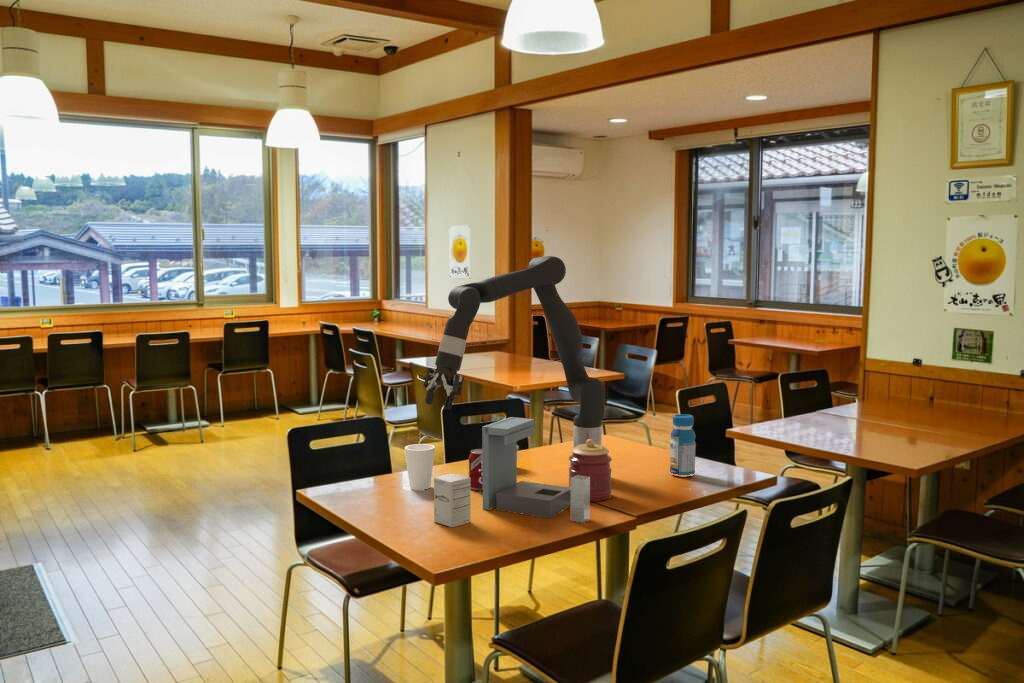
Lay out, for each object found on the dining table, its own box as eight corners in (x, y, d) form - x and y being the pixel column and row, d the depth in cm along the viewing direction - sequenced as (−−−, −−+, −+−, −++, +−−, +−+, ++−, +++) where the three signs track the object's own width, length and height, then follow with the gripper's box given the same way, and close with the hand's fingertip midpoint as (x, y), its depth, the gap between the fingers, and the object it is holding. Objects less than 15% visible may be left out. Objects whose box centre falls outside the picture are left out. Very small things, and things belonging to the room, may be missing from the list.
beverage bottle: (690, 479, 273) (691, 419, 271) (665, 476, 277) (666, 416, 275) (698, 474, 280) (699, 414, 278) (674, 470, 284) (675, 412, 282)
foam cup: (433, 491, 259) (433, 450, 258) (403, 491, 259) (403, 450, 258) (436, 483, 268) (435, 443, 267) (407, 483, 268) (406, 444, 267)
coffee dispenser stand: (511, 494, 255) (510, 416, 253) (534, 498, 252) (534, 419, 249) (482, 508, 241) (482, 426, 238) (507, 512, 237) (506, 429, 235)
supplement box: (433, 522, 228) (432, 476, 227) (454, 516, 234) (453, 472, 232) (450, 528, 223) (450, 481, 222) (471, 522, 228) (471, 476, 227)
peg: (576, 517, 232) (576, 474, 231) (589, 519, 231) (589, 476, 229) (570, 521, 229) (570, 478, 228) (583, 523, 227) (584, 479, 226)
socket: (521, 497, 253) (521, 480, 252) (572, 504, 245) (572, 487, 244) (496, 509, 240) (496, 492, 239) (549, 518, 231) (549, 500, 231)
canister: (618, 494, 255) (618, 437, 254) (600, 504, 244) (600, 445, 243) (579, 488, 262) (580, 433, 260) (560, 498, 251) (561, 440, 249)
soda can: (464, 489, 261) (464, 452, 260) (475, 484, 267) (475, 447, 266) (483, 492, 258) (483, 454, 257) (494, 487, 264) (494, 449, 263)
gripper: (476, 358, 243) (462, 413, 242) (444, 351, 253) (431, 404, 252) (457, 353, 238) (443, 409, 237) (426, 346, 248) (412, 400, 247)
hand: (437, 406), depth 245 cm, fingers open, 8 cm apart
